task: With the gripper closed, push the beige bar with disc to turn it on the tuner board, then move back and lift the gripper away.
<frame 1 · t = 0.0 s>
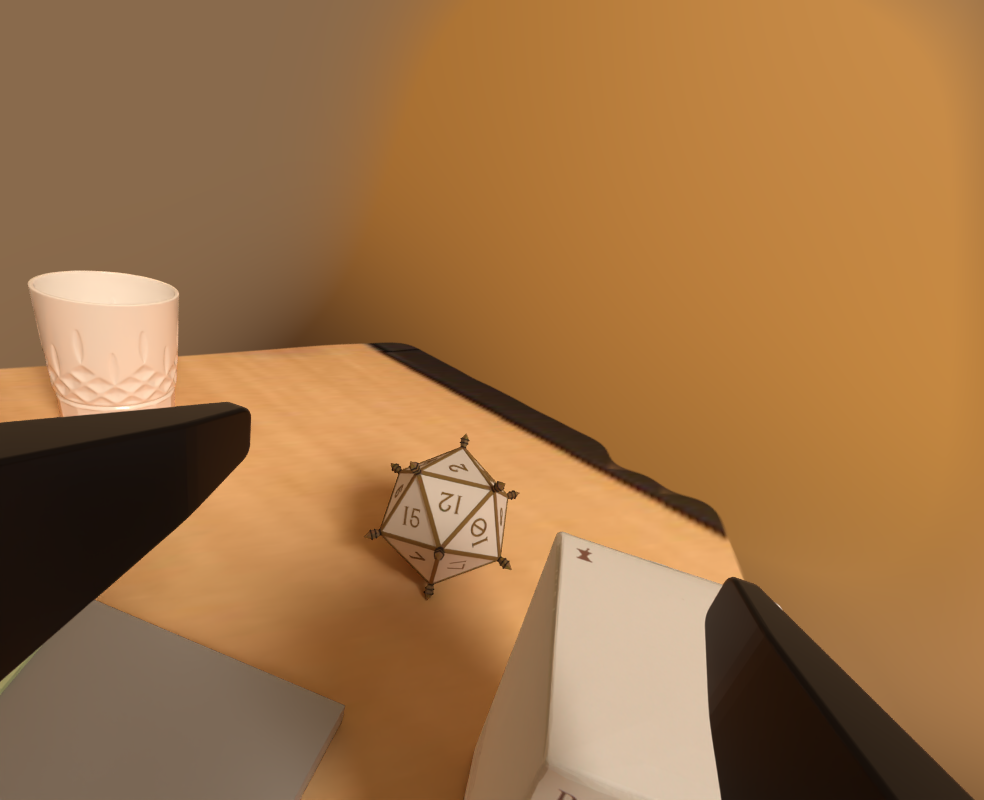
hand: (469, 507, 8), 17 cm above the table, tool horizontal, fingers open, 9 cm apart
white cup: (121, 417, 35), on the table
game die: (434, 565, 29), on the table
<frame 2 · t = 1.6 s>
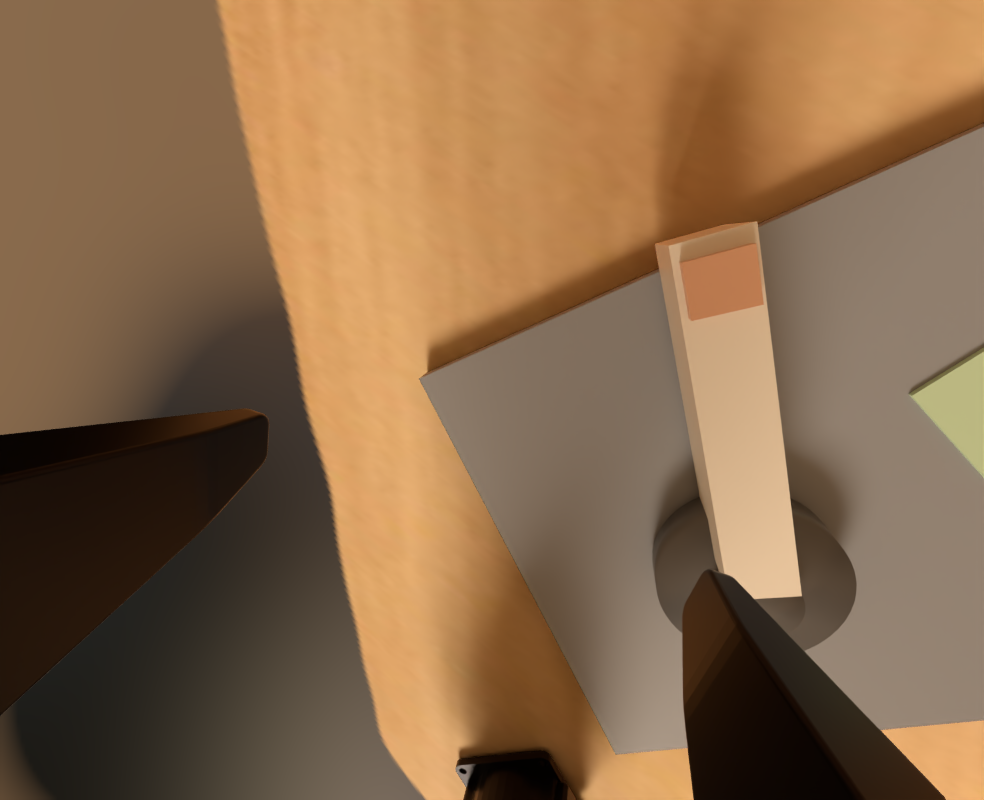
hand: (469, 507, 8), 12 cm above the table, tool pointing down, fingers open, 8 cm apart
tuner board: (773, 512, 20), on the table
beige bar with disc: (737, 482, 16), point 3 cm above the table, hinge at 60.0°
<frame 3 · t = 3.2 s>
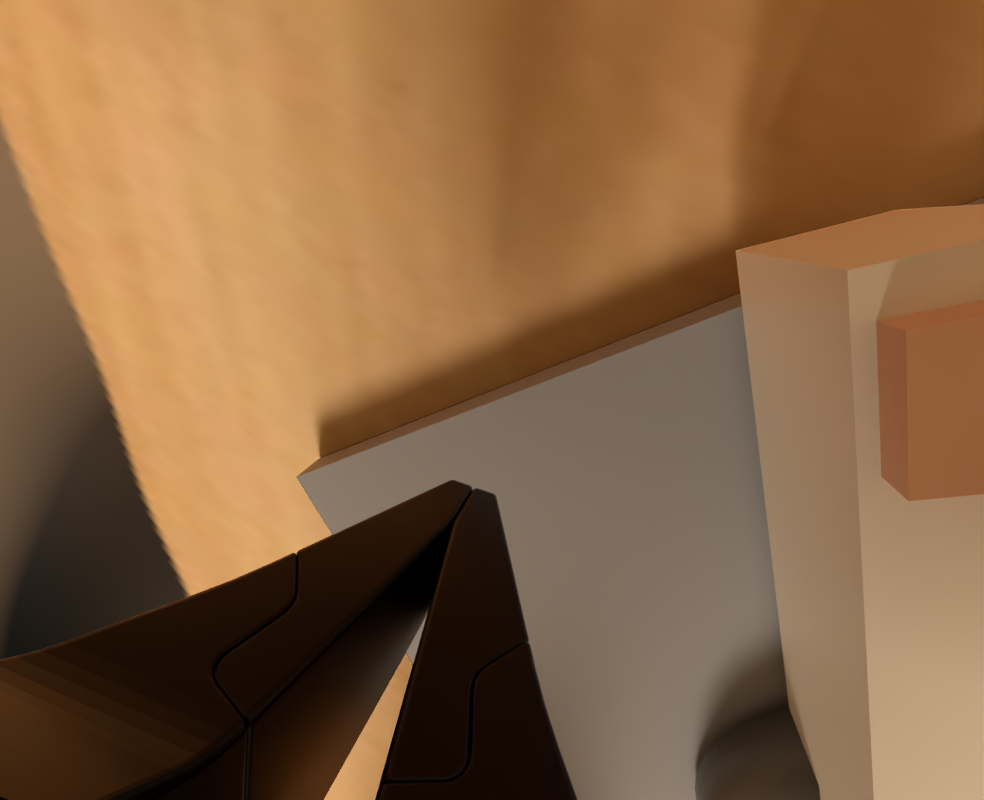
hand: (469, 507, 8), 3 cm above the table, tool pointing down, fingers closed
tuner board: (910, 718, 11), on the table
beige bar with disc: (901, 756, 8), point 3 cm above the table, hinge at 60.0°
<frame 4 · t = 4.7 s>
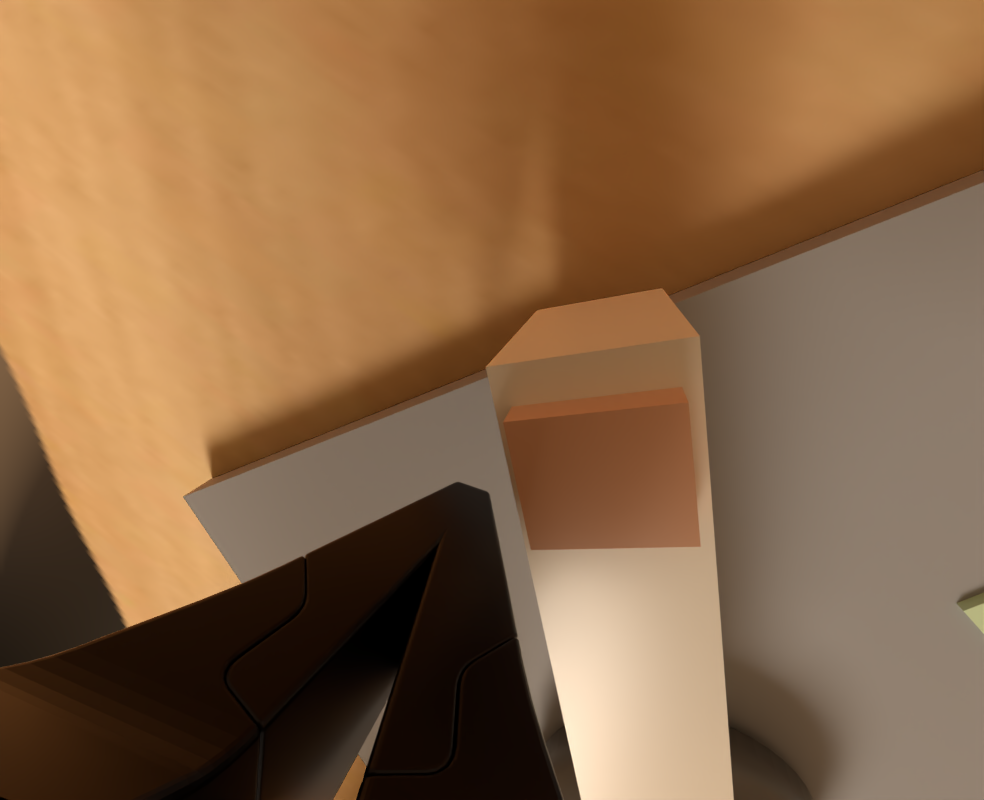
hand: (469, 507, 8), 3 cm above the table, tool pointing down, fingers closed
tuner board: (723, 723, 13), on the table
beige bar with disc: (654, 756, 9), point 3 cm above the table, hinge at 56.8°, touching gripper
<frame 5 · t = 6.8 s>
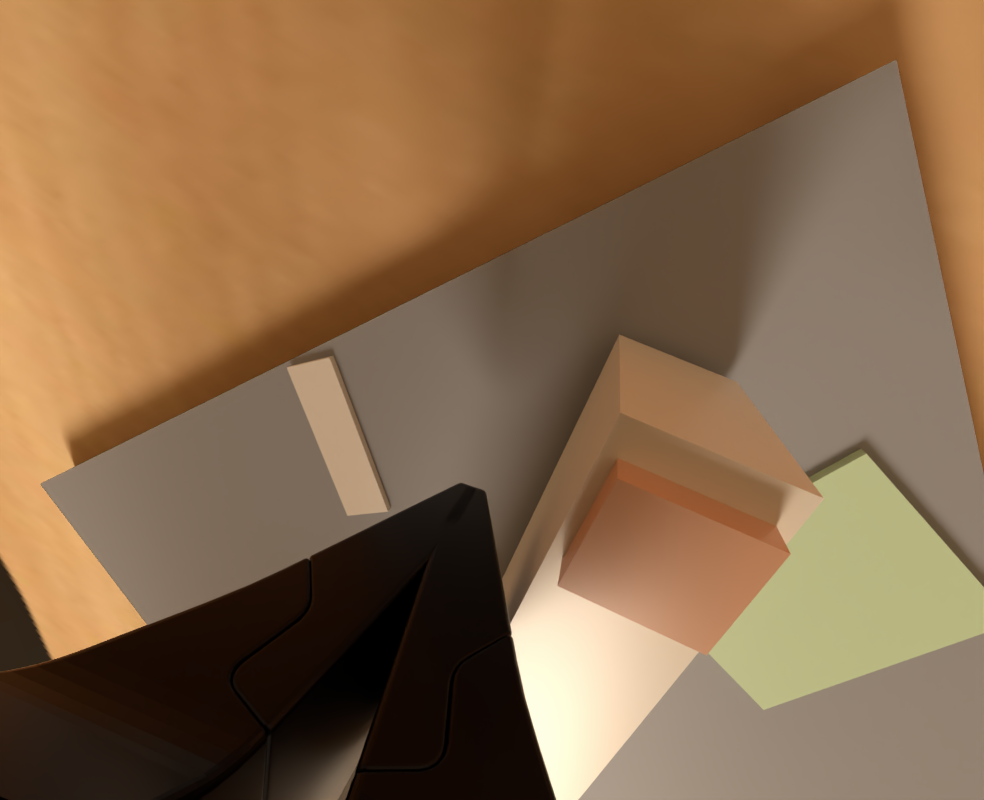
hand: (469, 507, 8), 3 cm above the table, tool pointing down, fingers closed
tuner board: (512, 686, 14), on the table
beige bar with disc: (494, 737, 10), point 3 cm above the table, hinge at 25.0°, touching gripper
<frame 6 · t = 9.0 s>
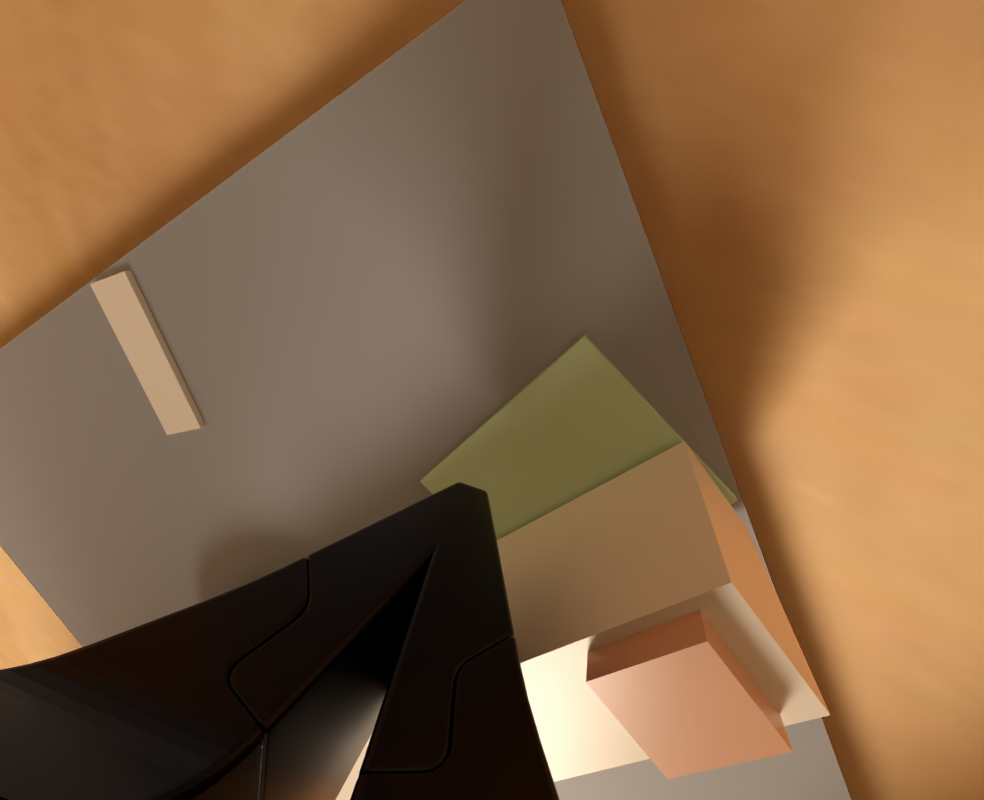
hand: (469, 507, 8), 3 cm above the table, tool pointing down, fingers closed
tuner board: (357, 613, 14), on the table
beige bar with disc: (375, 704, 10), point 3 cm above the table, hinge at -6.7°, touching gripper
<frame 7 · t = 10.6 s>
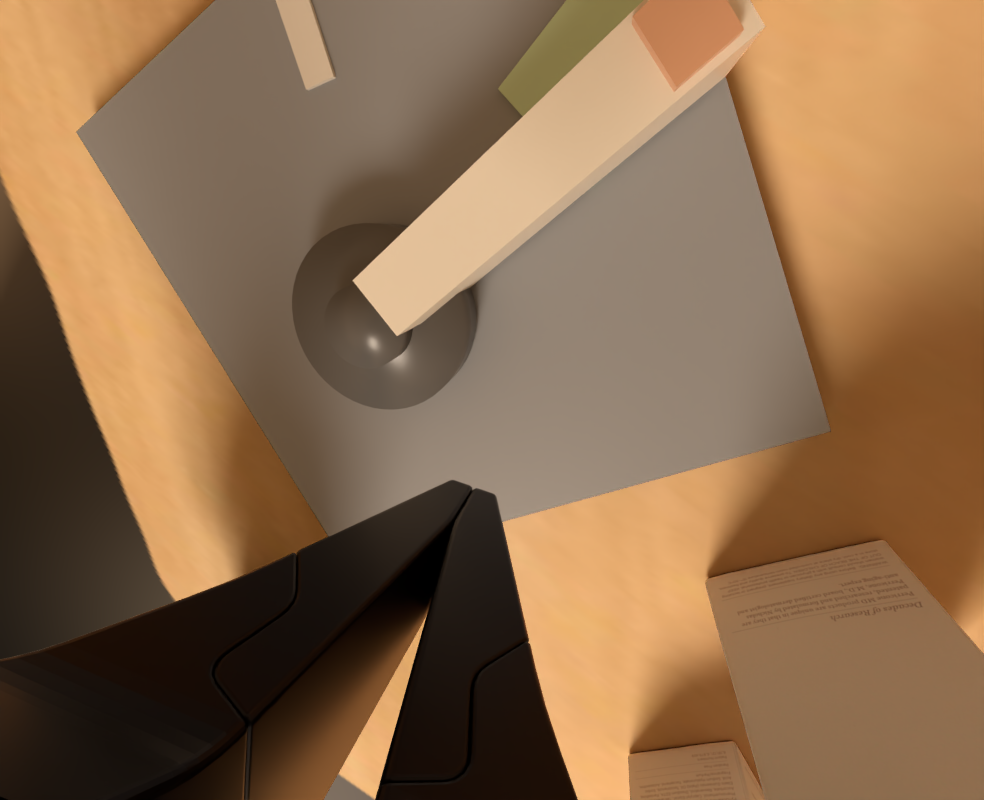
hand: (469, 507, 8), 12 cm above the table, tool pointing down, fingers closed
tuner board: (434, 268, 19), on the table
beige bar with disc: (470, 235, 15), point 3 cm above the table, hinge at -7.2°
supplement box: (810, 617, 21), on the table
product box: (699, 777, 26), on the table
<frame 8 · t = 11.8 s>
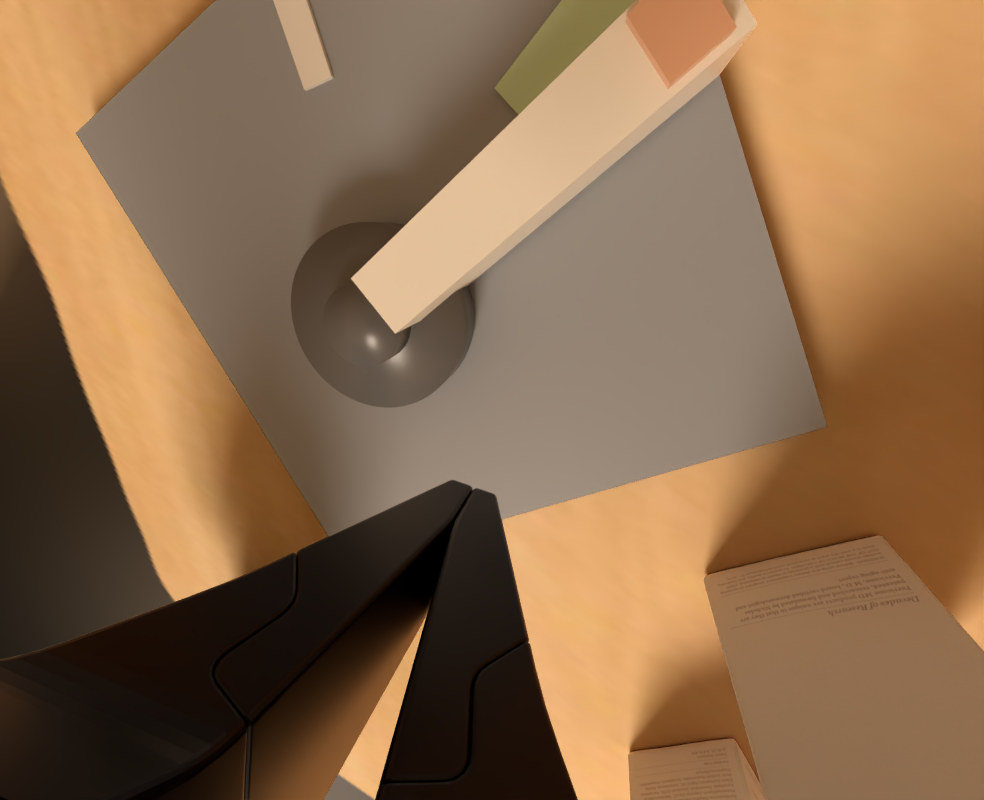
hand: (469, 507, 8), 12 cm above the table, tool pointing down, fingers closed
tuner board: (432, 266, 19), on the table
beige bar with disc: (467, 233, 15), point 3 cm above the table, hinge at -7.2°
supplement box: (808, 613, 21), on the table
product box: (699, 775, 26), on the table
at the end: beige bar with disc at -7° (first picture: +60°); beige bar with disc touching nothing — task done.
